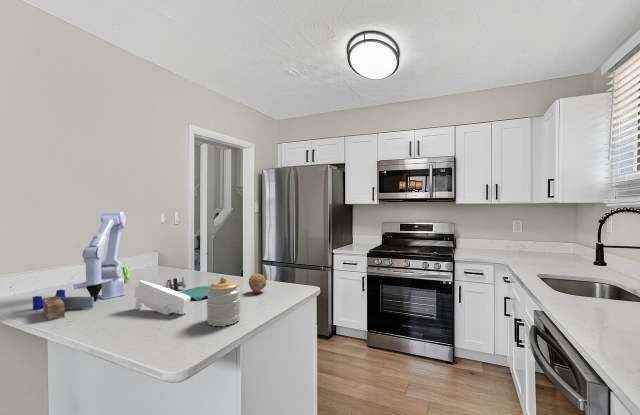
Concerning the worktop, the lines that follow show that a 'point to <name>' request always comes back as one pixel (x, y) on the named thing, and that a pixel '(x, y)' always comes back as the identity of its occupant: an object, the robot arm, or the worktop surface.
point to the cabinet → (53, 308)
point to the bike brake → (175, 284)
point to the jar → (223, 303)
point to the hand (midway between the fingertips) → (94, 301)
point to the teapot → (125, 273)
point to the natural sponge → (257, 282)
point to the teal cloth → (197, 292)
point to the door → (78, 302)
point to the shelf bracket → (161, 298)
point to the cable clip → (39, 302)
